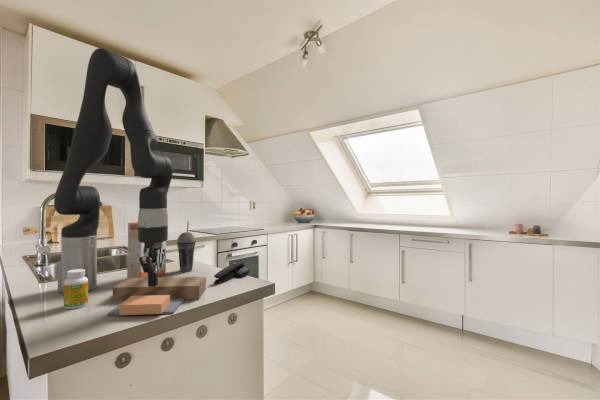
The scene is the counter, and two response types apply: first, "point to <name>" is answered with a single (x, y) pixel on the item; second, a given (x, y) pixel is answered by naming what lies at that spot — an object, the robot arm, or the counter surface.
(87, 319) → the counter surface
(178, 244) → the beverage cup
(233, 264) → the can opener
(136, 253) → the cracker box
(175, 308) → the slate mat
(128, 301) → the terracotta tile
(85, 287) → the supplement bottle
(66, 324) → the counter surface
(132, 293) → the panel
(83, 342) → the counter surface
